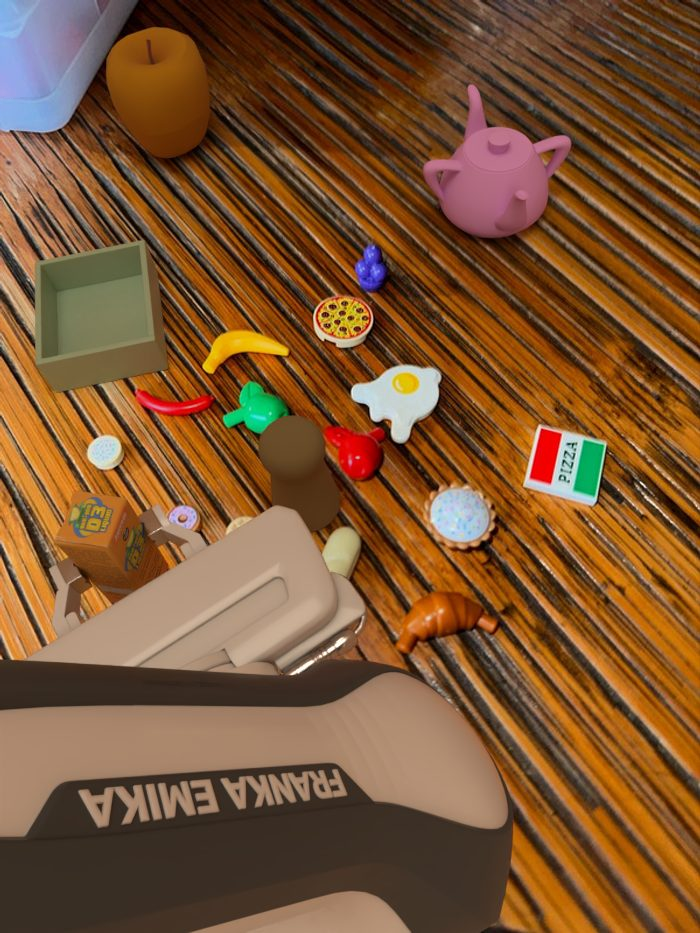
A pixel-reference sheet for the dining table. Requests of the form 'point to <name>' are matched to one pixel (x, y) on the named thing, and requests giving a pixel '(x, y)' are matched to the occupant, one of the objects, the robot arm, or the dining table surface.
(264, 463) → the cork
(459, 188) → the teapot
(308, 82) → the dining table surface
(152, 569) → the supplement box
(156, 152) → the apple
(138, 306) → the bin
